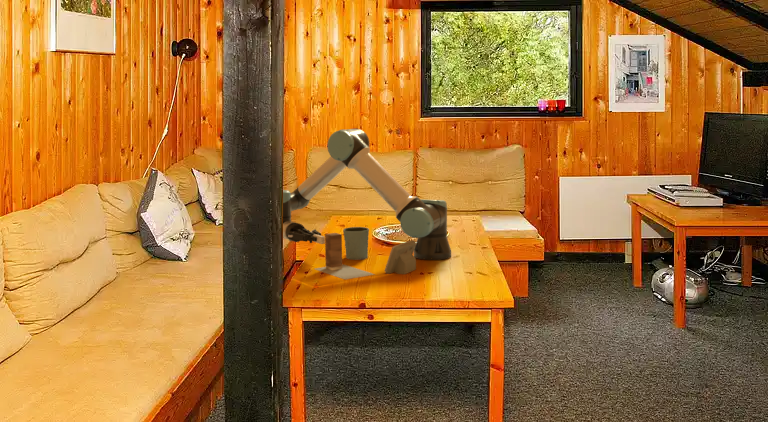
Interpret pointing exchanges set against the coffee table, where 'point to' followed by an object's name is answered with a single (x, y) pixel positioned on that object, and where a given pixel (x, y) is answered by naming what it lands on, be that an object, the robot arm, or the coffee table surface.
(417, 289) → the coffee table surface
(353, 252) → the grey green cup
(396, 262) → the digital clock
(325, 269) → the felt mat
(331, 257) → the walnut block
